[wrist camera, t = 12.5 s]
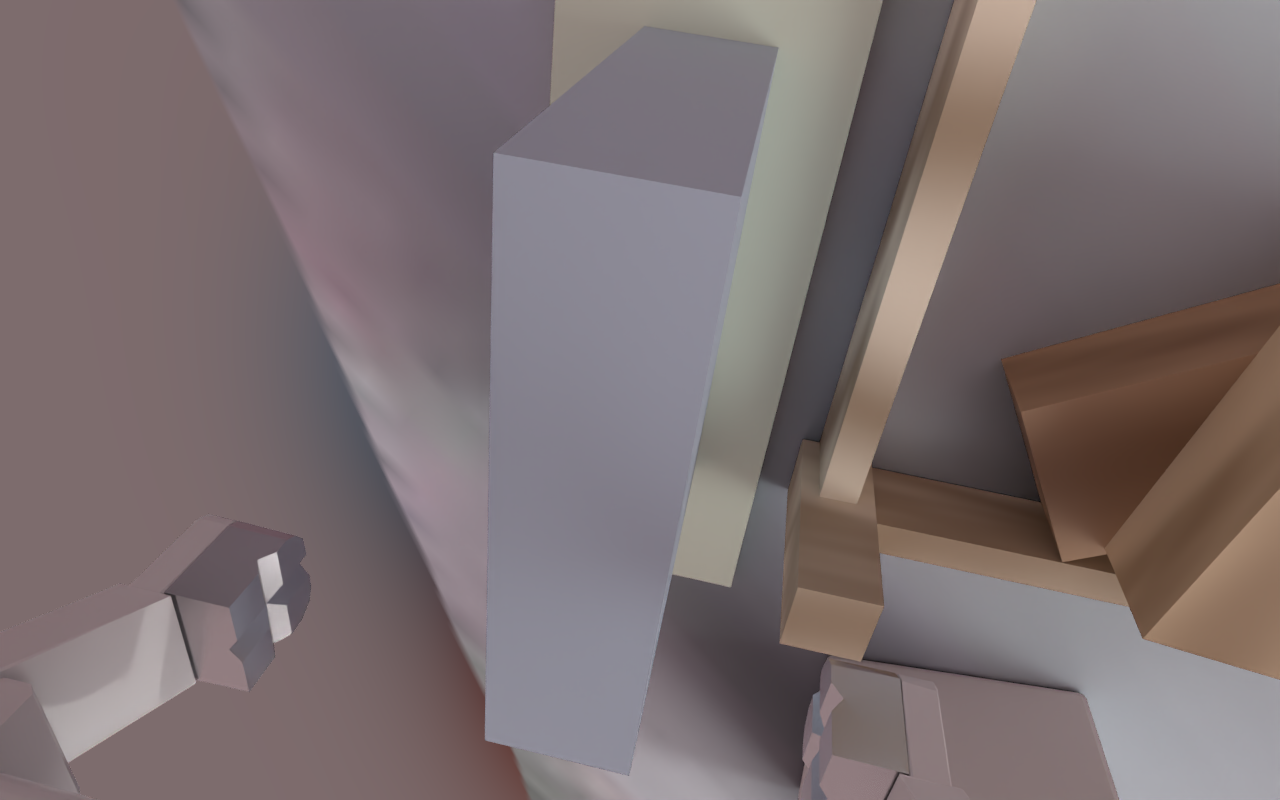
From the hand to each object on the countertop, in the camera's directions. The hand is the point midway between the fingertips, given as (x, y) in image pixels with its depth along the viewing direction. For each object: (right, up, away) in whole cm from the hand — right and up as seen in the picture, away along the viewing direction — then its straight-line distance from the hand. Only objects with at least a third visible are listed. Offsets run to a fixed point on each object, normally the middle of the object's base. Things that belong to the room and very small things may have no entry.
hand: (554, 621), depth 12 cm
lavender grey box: (+2, +6, +9) cm, 11 cm away
